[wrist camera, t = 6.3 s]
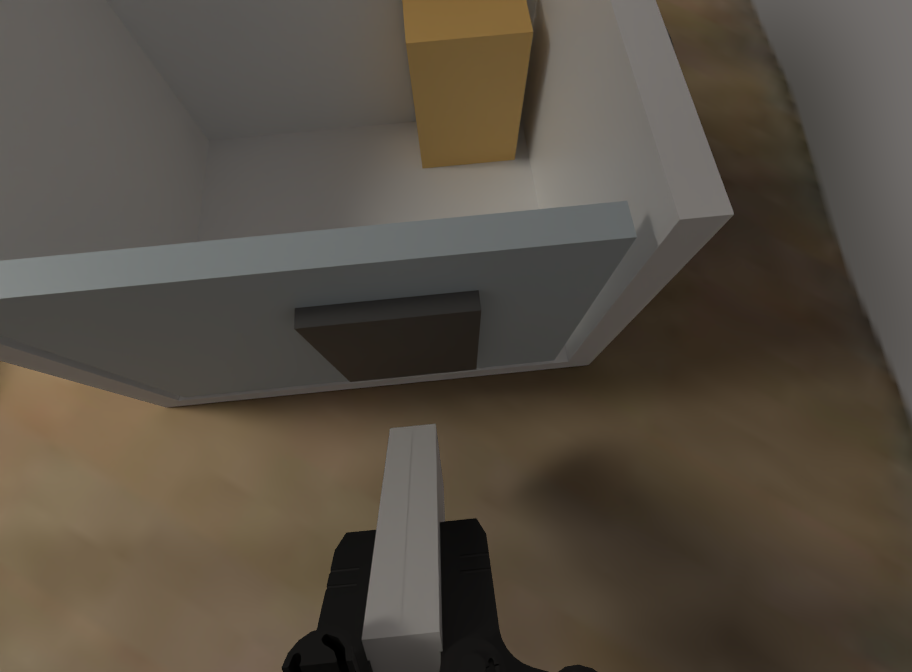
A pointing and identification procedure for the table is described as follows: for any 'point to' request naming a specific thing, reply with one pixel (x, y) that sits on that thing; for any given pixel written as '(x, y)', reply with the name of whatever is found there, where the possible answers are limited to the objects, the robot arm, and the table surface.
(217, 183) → the open box
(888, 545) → the table surface
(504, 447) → the table surface
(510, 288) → the side door
